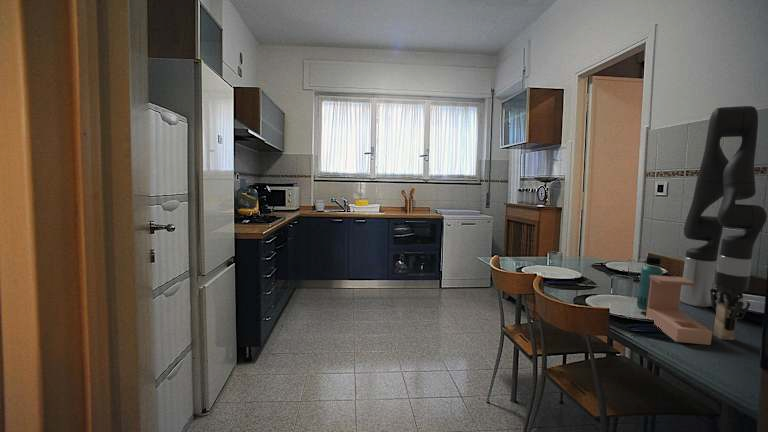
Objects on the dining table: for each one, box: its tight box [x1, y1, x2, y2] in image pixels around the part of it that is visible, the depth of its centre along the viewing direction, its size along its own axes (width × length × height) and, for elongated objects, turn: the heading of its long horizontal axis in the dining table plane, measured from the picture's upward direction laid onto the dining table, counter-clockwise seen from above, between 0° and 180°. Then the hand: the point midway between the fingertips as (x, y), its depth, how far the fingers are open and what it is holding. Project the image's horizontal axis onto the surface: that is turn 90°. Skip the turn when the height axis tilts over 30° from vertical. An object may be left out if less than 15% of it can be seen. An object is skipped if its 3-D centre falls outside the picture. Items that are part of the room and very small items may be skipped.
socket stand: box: [645, 275, 713, 346], centre depth 123 cm, size 10×18×15 cm, turn 171°
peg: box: [712, 303, 737, 341], centre depth 120 cm, size 3×3×10 cm
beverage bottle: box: [636, 255, 664, 312], centre depth 138 cm, size 6×7×20 cm
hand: (724, 327), depth 120 cm, fingers closed on peg, 3 cm apart
